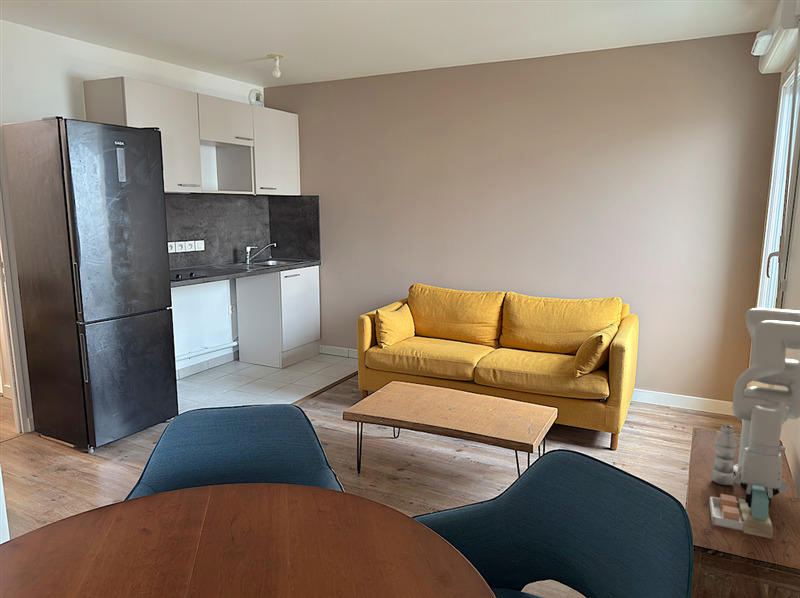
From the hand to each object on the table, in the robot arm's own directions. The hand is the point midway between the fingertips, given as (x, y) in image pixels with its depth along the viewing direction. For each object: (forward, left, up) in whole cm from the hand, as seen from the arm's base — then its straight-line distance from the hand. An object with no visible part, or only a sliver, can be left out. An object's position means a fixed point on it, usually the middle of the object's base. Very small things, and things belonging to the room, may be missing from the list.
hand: (757, 506), depth 168 cm
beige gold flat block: (0, 0, -5) cm, 5 cm away
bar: (0, 0, -1) cm, 1 cm away
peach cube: (+4, -5, -3) cm, 7 cm away
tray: (0, -8, -5) cm, 9 cm away
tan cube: (-4, -5, -3) cm, 7 cm away
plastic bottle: (-25, -7, -5) cm, 26 cm away
